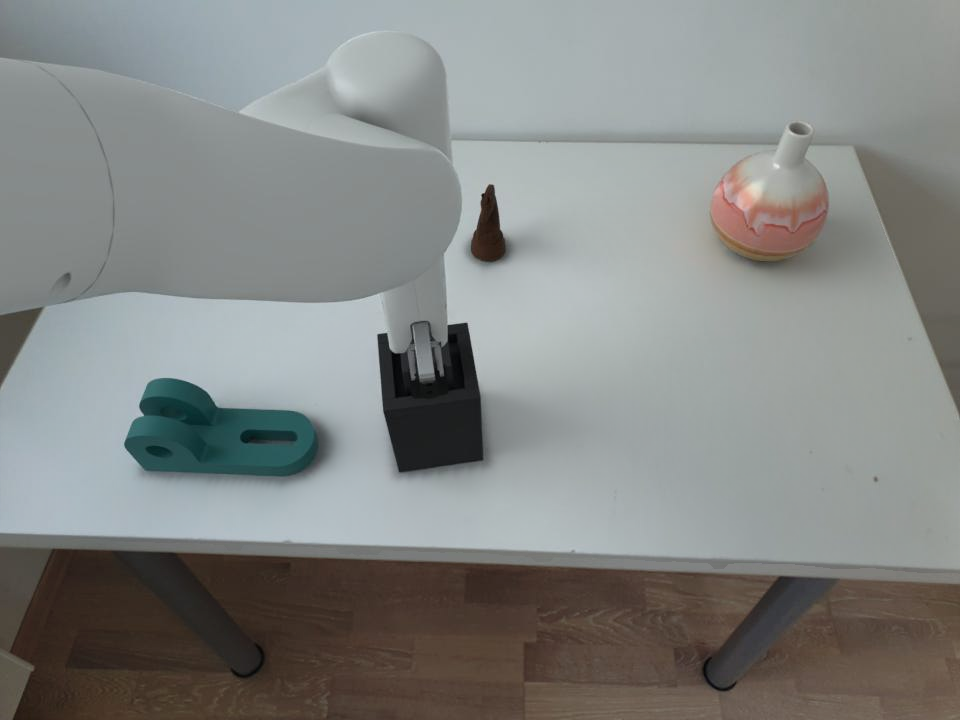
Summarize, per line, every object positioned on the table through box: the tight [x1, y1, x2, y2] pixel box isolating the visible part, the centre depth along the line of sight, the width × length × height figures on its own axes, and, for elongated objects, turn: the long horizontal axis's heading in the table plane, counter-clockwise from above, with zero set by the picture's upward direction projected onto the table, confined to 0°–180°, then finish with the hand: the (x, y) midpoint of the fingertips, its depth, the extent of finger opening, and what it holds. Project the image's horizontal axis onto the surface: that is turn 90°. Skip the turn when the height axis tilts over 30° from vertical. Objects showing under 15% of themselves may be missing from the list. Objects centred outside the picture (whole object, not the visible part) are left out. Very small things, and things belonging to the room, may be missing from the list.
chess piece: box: [470, 183, 507, 263], centre depth 89 cm, size 5×5×10 cm
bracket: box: [123, 377, 319, 477], centre depth 74 cm, size 18×7×8 cm, turn 87°
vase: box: [709, 119, 830, 262], centre depth 86 cm, size 14×14×18 cm
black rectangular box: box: [376, 322, 484, 473], centre depth 72 cm, size 9×9×12 cm
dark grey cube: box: [401, 330, 454, 396], centre depth 67 cm, size 4×4×4 cm
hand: (425, 350), depth 65 cm, fingers open, 9 cm apart
